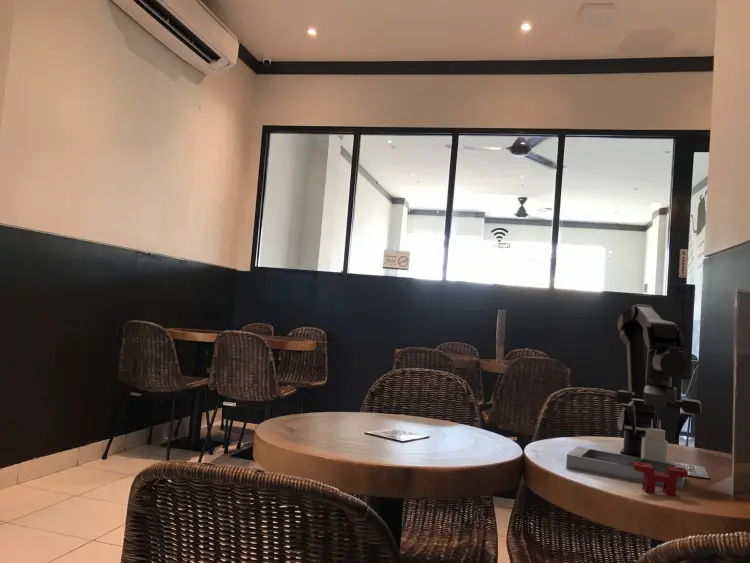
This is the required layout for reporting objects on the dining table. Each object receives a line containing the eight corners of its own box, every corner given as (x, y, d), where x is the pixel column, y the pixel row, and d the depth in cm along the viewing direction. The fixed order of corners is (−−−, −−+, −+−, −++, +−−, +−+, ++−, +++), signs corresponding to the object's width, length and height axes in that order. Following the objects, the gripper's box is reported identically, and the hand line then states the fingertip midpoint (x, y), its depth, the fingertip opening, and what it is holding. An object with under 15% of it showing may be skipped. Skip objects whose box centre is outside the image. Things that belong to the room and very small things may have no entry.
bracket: (689, 472, 116) (636, 465, 118) (687, 500, 116) (634, 493, 118) (684, 468, 119) (632, 461, 121) (682, 495, 119) (630, 488, 121)
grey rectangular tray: (576, 458, 145) (577, 446, 145) (684, 479, 133) (685, 466, 133) (566, 467, 135) (566, 454, 135) (682, 491, 123) (683, 476, 123)
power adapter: (639, 466, 143) (642, 417, 143) (662, 468, 142) (665, 419, 142) (643, 469, 140) (646, 419, 140) (667, 472, 139) (670, 421, 139)
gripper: (613, 369, 140) (609, 434, 139) (701, 380, 130) (697, 450, 130) (619, 367, 149) (615, 428, 149) (702, 377, 140) (699, 442, 139)
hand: (654, 437), depth 141 cm, fingers open, 9 cm apart
